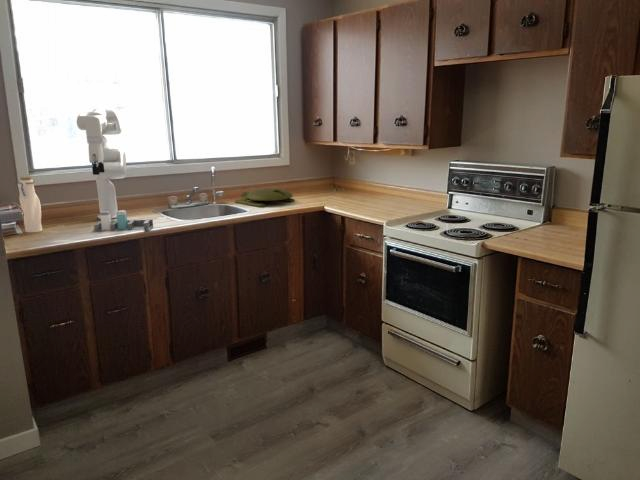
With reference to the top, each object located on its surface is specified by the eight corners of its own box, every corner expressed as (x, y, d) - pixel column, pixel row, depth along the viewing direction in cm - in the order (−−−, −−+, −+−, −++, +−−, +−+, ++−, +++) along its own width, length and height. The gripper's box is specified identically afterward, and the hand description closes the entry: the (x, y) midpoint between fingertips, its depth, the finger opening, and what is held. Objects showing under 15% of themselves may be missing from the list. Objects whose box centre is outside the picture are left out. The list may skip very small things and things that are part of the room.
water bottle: (41, 232, 261) (33, 178, 254) (21, 234, 259) (13, 178, 252) (45, 228, 271) (38, 175, 264) (26, 229, 268) (18, 176, 261)
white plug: (104, 228, 265) (101, 211, 262) (112, 227, 265) (110, 210, 263) (101, 229, 261) (99, 212, 258) (110, 229, 261) (108, 212, 259)
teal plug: (120, 227, 266) (118, 210, 264) (128, 227, 266) (126, 210, 264) (118, 229, 262) (116, 212, 260) (126, 228, 262) (124, 211, 260)
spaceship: (233, 203, 341) (232, 188, 338) (268, 197, 362) (267, 183, 360) (266, 209, 317) (266, 194, 315) (302, 203, 338) (302, 188, 336)
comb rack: (98, 228, 268) (97, 221, 267) (153, 226, 272) (152, 219, 271) (91, 234, 257) (90, 226, 256) (149, 231, 260) (148, 223, 259)
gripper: (92, 139, 271) (96, 171, 275) (82, 141, 254) (86, 175, 258) (106, 139, 272) (110, 171, 276) (98, 141, 255) (102, 175, 259)
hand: (98, 173), depth 267 cm, fingers open, 9 cm apart
